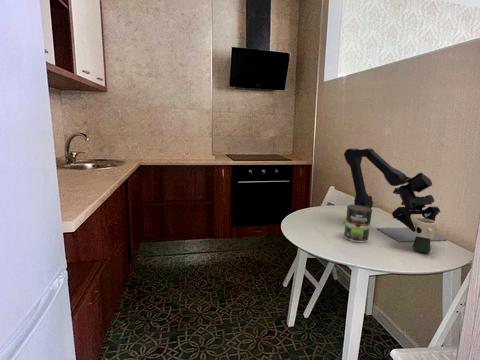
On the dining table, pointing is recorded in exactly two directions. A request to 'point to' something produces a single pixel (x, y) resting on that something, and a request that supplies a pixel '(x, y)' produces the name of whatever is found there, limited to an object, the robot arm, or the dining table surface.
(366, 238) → the coffee can
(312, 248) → the dining table surface
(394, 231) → the placemat
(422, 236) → the character mug
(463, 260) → the dining table surface
